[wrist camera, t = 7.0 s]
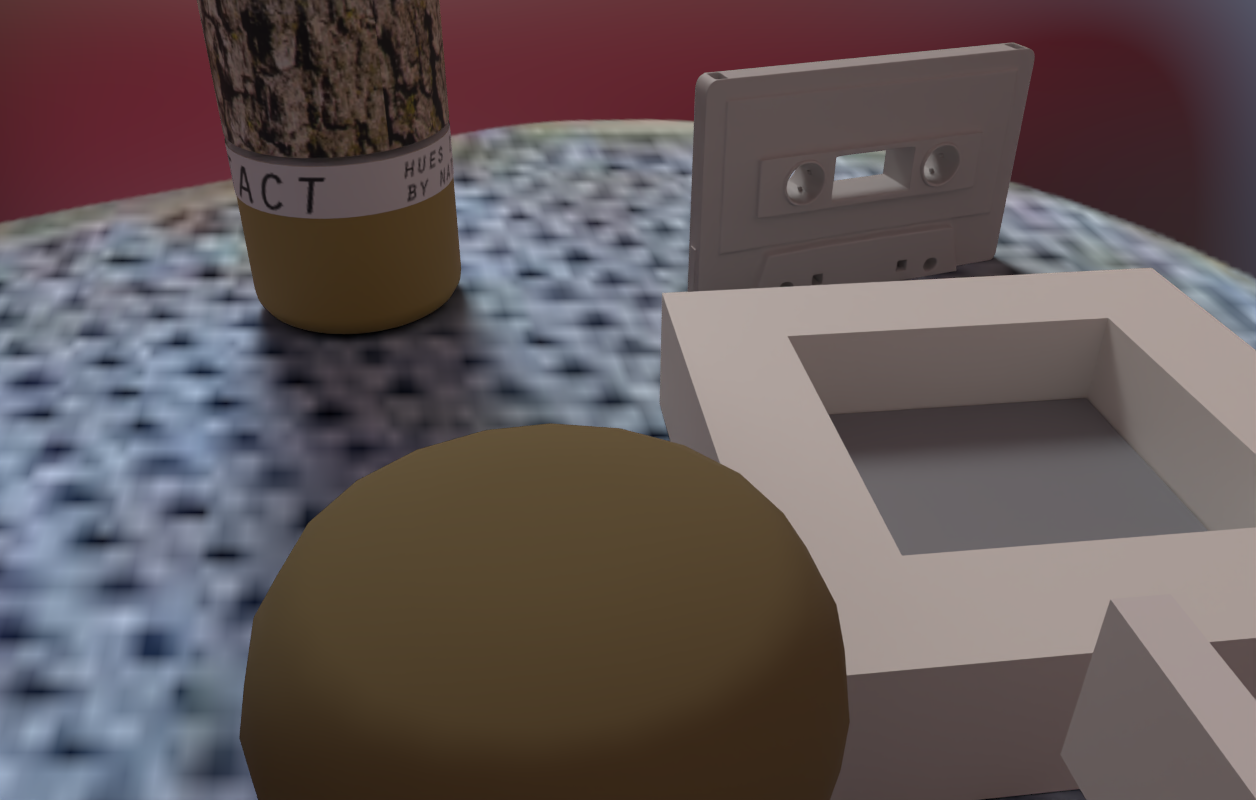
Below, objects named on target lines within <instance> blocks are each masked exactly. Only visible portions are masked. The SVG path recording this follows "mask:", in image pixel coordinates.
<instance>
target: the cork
mask: <svg viewBox="0 0 1256 800" xmlns="http://www.w3.org/2000/svg"><path fill="white" fill-rule="evenodd" d="M849 723H850V719H849V704H848V689H847V674H846V660H845V649H844V643H843V637H842V632H841V626H840V621H839V615H838V610H837V605H836V603H835V601H834V599H833V597H832V595H831V593H830V591H829V589H828V587H827V585H826V583H825V582H824V580H823V578H822V576H821V574H820V572H819V570H818V568H817V566H816V564H815V562H814V560H813V559H812V557H811V555H810V553H809V551H808V549H807V547H806V546H805V544H804V543H803V541H802V540H801V538H800V537H799V535H798V534H797V532H796V531H795V529H794V528H793V526H792V525H791V523H790V522H789V521H788V519H787V518H786V516H785V515H784V513H783V512H782V511H781V510H780V509H778V508H777V507H776V506H775V505H774V504H773V503H772V502H771V501H770V500H769V499H767V498H766V497H765V496H764V495H763V494H762V493H761V492H760V491H759V490H758V489H756V488H755V487H754V486H753V485H752V484H751V483H750V482H749V481H748V480H747V479H746V478H744V477H743V476H742V475H741V474H740V473H738V472H736V471H734V470H732V469H730V468H728V467H726V466H724V465H722V464H720V463H718V462H716V461H714V460H712V459H710V458H708V457H706V456H704V455H702V454H700V453H699V452H697V451H695V450H693V449H691V448H689V447H687V446H685V445H681V444H678V443H674V442H670V441H666V440H662V439H658V438H654V437H651V436H647V435H643V434H639V433H635V432H631V431H627V430H624V429H619V428H607V427H592V426H578V425H564V424H541V425H532V426H522V427H512V428H502V429H493V430H485V431H481V432H477V433H474V434H470V435H467V436H463V437H460V438H456V439H453V440H449V441H446V442H442V443H439V444H435V445H432V446H428V447H425V448H421V449H418V450H415V451H414V452H412V453H410V454H408V455H406V456H404V457H402V458H400V459H398V460H396V461H394V462H392V463H390V464H388V465H386V466H384V467H382V468H380V469H379V470H377V471H375V472H373V473H371V474H369V475H367V476H365V477H363V478H361V479H359V480H357V481H356V482H355V483H354V484H352V485H351V486H350V487H349V488H348V489H347V490H346V491H344V492H343V493H342V494H341V495H340V496H339V497H338V498H336V499H335V500H334V501H333V502H332V503H331V504H329V505H328V506H327V507H326V508H325V509H324V510H323V511H321V512H320V513H319V514H318V515H317V516H316V517H315V518H313V519H312V520H311V521H310V522H309V523H308V525H307V526H306V528H305V530H304V531H303V533H302V535H301V536H300V538H299V540H298V541H297V543H296V545H295V546H294V548H293V550H292V551H291V553H290V555H289V556H288V558H287V560H286V561H285V563H284V565H283V566H282V568H281V570H280V571H279V573H278V575H277V577H276V578H275V580H274V582H273V584H272V586H271V587H270V589H269V591H268V593H267V595H266V596H265V598H264V600H263V602H262V604H261V605H260V607H259V609H258V611H257V613H256V614H255V616H254V619H253V626H252V633H251V640H250V647H249V654H248V661H247V668H246V675H245V682H244V692H243V703H242V715H241V726H240V741H241V745H242V748H243V751H244V755H245V758H246V761H247V765H248V768H249V771H250V775H251V778H252V781H253V785H254V788H255V791H256V794H257V798H258V800H830V798H831V796H832V793H833V790H834V787H835V785H836V782H837V779H838V776H839V774H840V771H841V766H842V761H843V756H844V750H845V745H846V739H847V734H848V729H849Z"/></svg>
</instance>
